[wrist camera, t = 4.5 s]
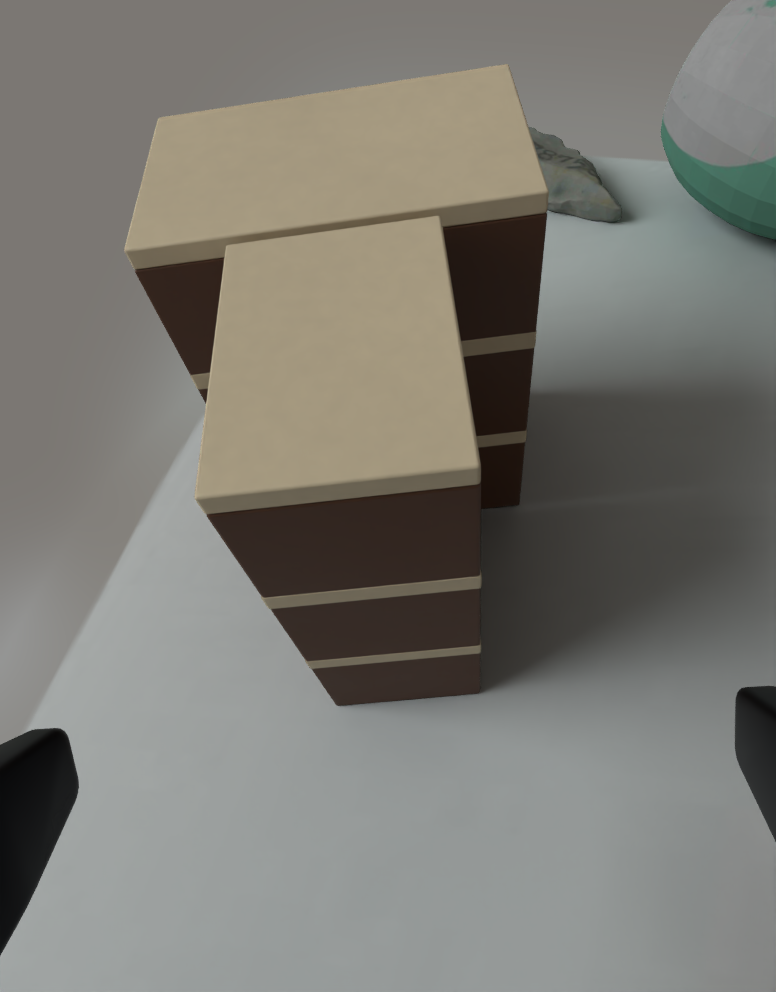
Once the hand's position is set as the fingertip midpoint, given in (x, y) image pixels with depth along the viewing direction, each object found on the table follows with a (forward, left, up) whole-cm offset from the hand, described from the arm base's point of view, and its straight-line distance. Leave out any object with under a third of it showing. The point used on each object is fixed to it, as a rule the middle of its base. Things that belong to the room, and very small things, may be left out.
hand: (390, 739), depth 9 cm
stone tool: (0, +30, -13) cm, 33 cm away
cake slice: (-3, +7, -14) cm, 16 cm away
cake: (-4, +14, -14) cm, 20 cm away
